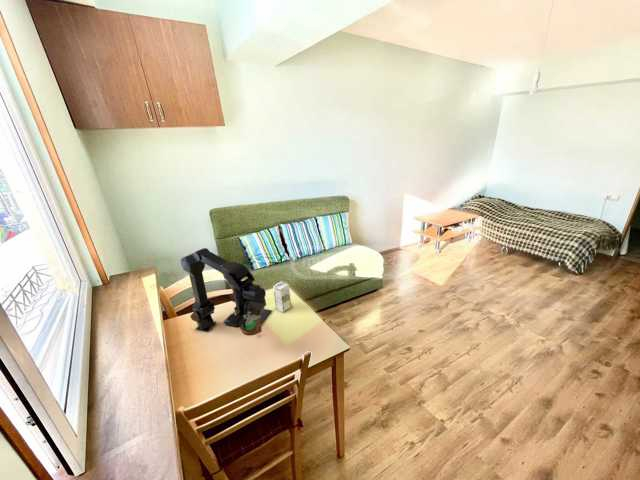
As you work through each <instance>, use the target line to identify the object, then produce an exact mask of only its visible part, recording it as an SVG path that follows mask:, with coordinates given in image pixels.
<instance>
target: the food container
mask: <svg viewBox="0 0 640 480" xmlns="http://www.w3.org/2000/svg"><path fill="white" fill-rule="evenodd" d="M234 312H235V315H237V314H238V311H237V310H234ZM260 317H261V316H260V315H259V316H256V315H255V314H253V313H251V312H248V313H246V314H245V315H244V319H247V321H246V322H245V328H246V331H242V330H241V329H240V330H241V333H242V334H243V335H244V336H248V337H250V336H255V335H258V334H260V333H261V332H262V324H261V323H260Z"/></svg>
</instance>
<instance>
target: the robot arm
mask: <svg viewBox="0 0 640 480" xmlns="http://www.w3.org/2000/svg"><path fill="white" fill-rule="evenodd" d="M180 265H181V267H182V269H183V271H185V272H186V273H187V274H188V275H189V280H190V284H191V288H192V289H191V290H192V292H193V296H194V303H193V304H192V313H191V314H190V319H191V320H192V321H193V322H196V324H197V327H196V328H195V330H196V331H201V332H207V333H208V332H210V330H211V329H213V327H214V326H215V325H216V324H217V322H216V321H214V319H213V316H212V314H214V313H215V309H216V307H215V303H214V301H211V300H210V299H209V298H208V293H207V287H206V283H205V279H204V274H203V272H204V270H205V267H206V265H207V266H209V267H210V268H212V269H214V270H216V271H217V272H219V273H220V274H222V276H223V278H224V280H226V281H227V283H226V284H227V285H228V286H230V287H231V291H232V295H233V298H232V299H231V301H232V303H235V307H234V308H233V309H234V310H233V311H235V310H237V311H238V314H237V315H234V314H233V313H230V314H229V315H228V316H227V317H226V318H225V319H224V320H223V323H224V322H225V323H224V326H225V327H229V328H236V329H238V328H239V329H240V330H242V331H246V328H245V322H246V321H247V319H244V315H245V314H246V313H248V312H251V313H253V314H255V315H256V316H259V315H260V314H261V313H262V312H263V311H264V309H265V307H266V306H267V300H266V293H267V292H266V290H265V288H263V287H261V285H259V284H255V283H253V282H255V281H256V279H255V277H254V275H253V274H252V272H250V270H249V269H248V267H247V266H246V265H244V264H243V263H240V262H238V261H230V260H226V259H225V258H223V257H221V256H220V255H217V254H215V253H214V252H212V251H210V249H209V248H207V247H203V248H201V249H198V250H196V251H194V252H192V253H190V254H188V255H185V256H183V257H182V258H181V259H180ZM242 331H241V332H242Z"/></svg>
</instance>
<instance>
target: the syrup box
mask: <svg viewBox="0 0 640 480" xmlns="http://www.w3.org/2000/svg"><path fill="white" fill-rule="evenodd" d="M272 290H273V296H274V304H275V309H276V310H278V311H280V312H281V313H284V312H286V311H288V310H289V309H291V308H292V301H291V291H290V285H289V284H288V283H287V282H284V281H279V282H278V283H276V284H274V285H272Z"/></svg>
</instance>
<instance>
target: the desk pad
mask: <svg viewBox="0 0 640 480" xmlns="http://www.w3.org/2000/svg"><path fill="white" fill-rule="evenodd" d="M271 313H272V310H271V309H267V308H264V311H263V312H262V313H261V314H260V316H261V317H260V323H261V325H262V324H263V323H264V322H265V321H266V319H267V318H268V317H269V315H270V314H271ZM232 314H234V315H235V311H233V312H232ZM223 323H224V324H225V322H224V321H223Z"/></svg>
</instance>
